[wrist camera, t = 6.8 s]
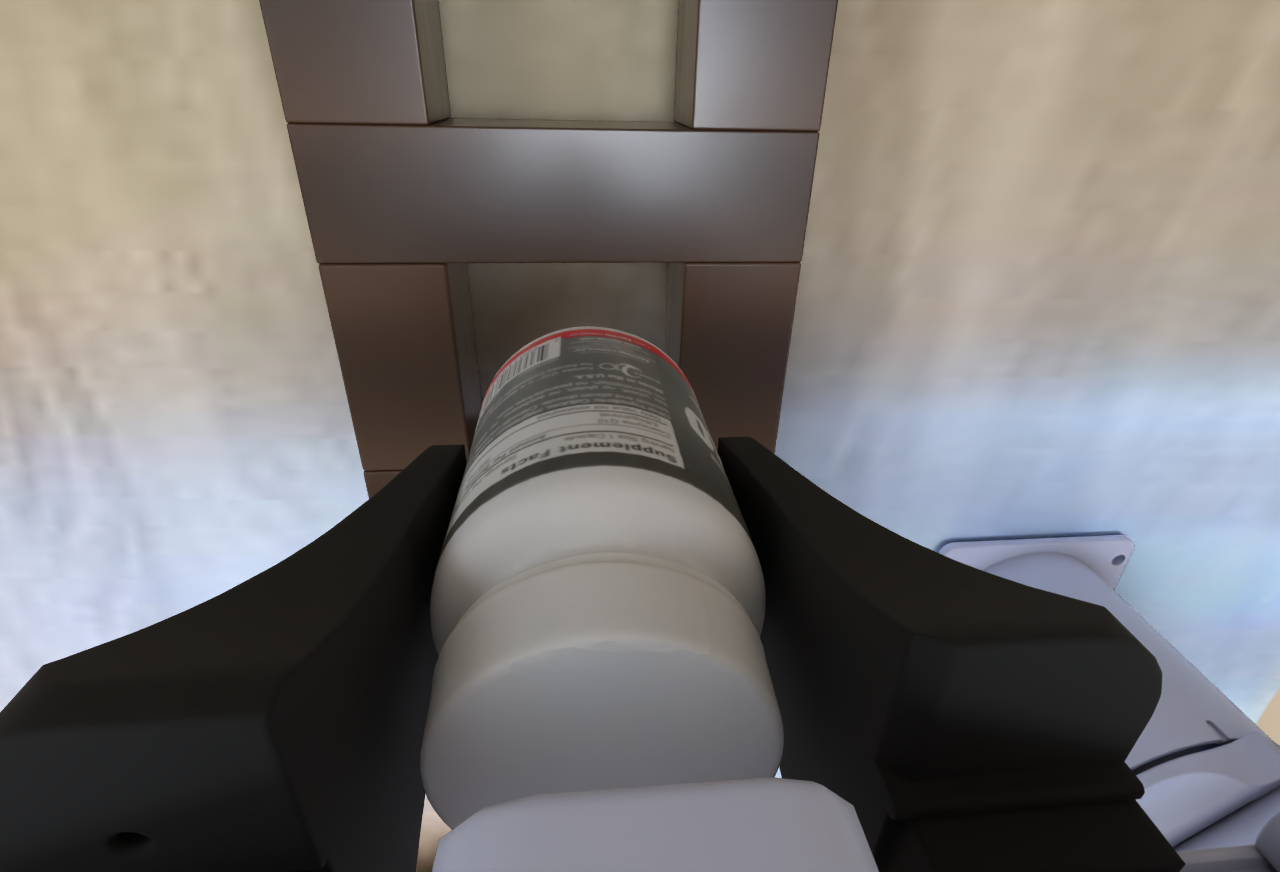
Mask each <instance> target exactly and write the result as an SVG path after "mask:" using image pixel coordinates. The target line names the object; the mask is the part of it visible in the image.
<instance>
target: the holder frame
mask: <svg viewBox="0 0 1280 872" xmlns="http://www.w3.org/2000/svg"><path fill="white" fill-rule="evenodd" d="M259 1H260V5H261V10H262V15H263V19H264V24H265V28H266V33H267V37H268V42H269V46H270V51H271V56H272V60H273V65H274V69H275V74H276V78H277V83H278V87H279V92H280V96H281V101H282V106H283V110H284V115H285V119H286V122H288V124H287V129H288V133H289V138H290V142H291V147H292V151H293V156H294V160H295V165H296V170H297V174H298V179H299V183H300V188H301V192H302V197H303V201H304V206H305V211H306V215H307V220H308V224H309V229H310V233H311V238H312V242H313V247H314V251H315V256H316V261H317V263H320V264H319V271H320V276H321V280H322V285H323V289H324V294H325V298H326V303H327V307H328V312H329V317H330V321H331V326H332V330H333V335H334V339H335V344H336V349H337V353H338V358H339V362H340V367H341V371H342V376H343V380H344V385H345V390H346V394H347V399H348V403H349V408H350V412H351V417H352V421H353V426H354V431H355V435H356V440H357V444H358V449H359V453H360V458H361V463H362V467H363V470H365V471H364V478H365V482H366V487H367V491H368V496H369V499H370V498H372V497H373V496H374V495H375V494H376V493H377V492H379V491H380V490H381V489H382V488H383V487H384V486H385V485H387V484H388V483H389V482H390V481H391V480H392V479H393V478H395V477H396V476H397V475H398V474H399V473H400V472H401V471H402V470H404V469H405V468H406V467H407V466H408V465H409V464H410V463H411V462H412V461H413V460H415V459H416V458H417V457H418V456H419V455H420V454H421V453H422V452H423V451H425V450H426V449H427V448H428V447H429V446H431V445H460V444H465V452H466V460H468V457H469V453H470V449H471V446H472V442H473V439H474V435H475V431H476V427H477V423H478V419H479V415H480V410H481V406H482V402H481V392H480V383H479V374H478V365H477V356H476V347H475V337H474V328H473V319H472V310H471V301H470V291H469V282H468V273H467V264H466V263H643V262H668V280H667V304H666V328H665V353H666V354H667V355H668V356H669V357H670V358H671V359H672V360H673V361H674V362H675V363H676V364H677V366H678V367H679V368H680V369H681V371H682V372H683V374H684V375H685V377H686V378H687V380H688V382H689V384H690V385H691V387H692V389H693V391H694V393H695V396H696V399H697V401H698V404H699V407H700V410H701V413H702V415H703V418H704V420H705V422H706V425H707V428H708V430H709V433H710V436H711V438H712V440H713V442H714V445H715V447H716V450H718V439H719V437H751V438H753V439H755V440H756V441H757V442H759V443H760V444H762V445H763V446H764V447H766V448H767V449H768V450H770V451H771V452H772V453H773V454H774V453H775V446H776V439H777V432H778V425H779V418H780V410H781V403H782V396H783V389H784V382H785V375H786V367H787V360H788V353H789V346H790V339H791V332H792V324H793V317H794V310H795V303H796V296H797V289H798V281H799V274H800V267H801V264H800V262H801V261H802V255H803V247H804V240H805V233H806V226H807V219H808V212H809V205H810V197H811V190H812V183H813V176H814V169H815V162H816V154H817V147H818V140H819V132H817V131H819V130H820V126H821V118H822V111H823V104H824V97H825V90H826V83H827V75H828V68H829V61H830V54H831V47H832V40H833V33H834V25H835V18H836V11H837V4H838V0H679V8H678V32H677V57H676V81H675V106H674V121H675V122H645V121H586V120H526V119H467V118H450V116H451V115H450V105H449V96H448V87H447V78H446V69H445V59H444V50H443V41H442V32H441V23H440V13H439V4H438V0H259Z"/></svg>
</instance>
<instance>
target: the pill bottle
mask: <svg viewBox="0 0 1280 872" xmlns="http://www.w3.org/2000/svg"><path fill="white" fill-rule="evenodd" d="M765 606H766V595H765V582H764V577H763V573H762V569H761V565H760V562H759V559H758V556H757V553H756V550H755V547H754V544H753V542H752V539H751V536H750V533H749V531H748V528H747V525H746V523H745V520H744V518H743V516H742V514H741V511H740V508H739V506H738V503H737V500H736V498H735V496H734V493H733V490H732V488H731V485H730V483H729V481H728V478H727V475H726V473H725V471H724V468H723V465H722V462H721V459H720V457H719V455H718V453H717V450H716V447H715V445H714V442H713V440H712V438H711V436H710V433H709V430H708V428H707V425H706V422H705V420H704V418H703V415H702V413H701V410H700V407H699V404H698V401H697V399H696V396H695V393H694V391H693V389H692V387H691V385H690V384H689V382H688V380H687V378H686V377H685V375H684V374H683V372H682V371H681V369H680V368H679V367H678V366H677V364H676V363H675V362H674V361H673V360H672V359H671V358H670V357H669V356H668V355H667V354H666V353H665V352H663V351H662V350H661V349H660V348H658V347H657V346H655V345H654V344H652V343H650V342H648V341H647V340H645V339H643V338H641V337H638V336H636V335H633V334H630V333H627V332H624V331H621V330H616V329H612V328H606V327H596V326H580V327H571V328H566V329H561V330H558V331H554V332H551V333H549V334H546V335H544V336H542V337H540V338H537V339H535V340H534V341H532V342H530V343H529V344H527V345H526V346H524V347H523V348H521V349H520V350H518V351H517V352H516V353H515V354H514V355H512V356H511V357H510V358H509V359H508V360H507V361H506V362H505V364H504V365H503V366H502V367H501V368H500V369H499V371H498V372H497V373H496V375H495V377H494V378H493V380H492V382H491V384H490V386H489V388H488V390H487V392H486V395H485V397H484V400H483V402H482V406H481V410H480V415H479V419H478V423H477V427H476V431H475V435H474V439H473V442H472V446H471V449H470V453H469V457H468V460H467V464H466V467H465V471H464V474H463V478H462V481H461V485H460V488H459V492H458V495H457V499H456V503H455V506H454V509H453V512H452V516H451V520H450V523H449V527H448V530H447V534H446V537H445V540H444V543H443V546H442V549H441V552H440V556H439V559H438V563H437V567H436V571H435V576H434V582H433V586H432V592H431V599H430V621H431V631H432V637H433V641H434V644H435V648H436V650H437V653H438V655H439V657H438V659H437V662H436V665H435V668H434V674H433V680H432V688H431V697H430V703H429V708H428V714H427V719H426V724H425V730H424V736H423V742H422V748H421V759H420V771H421V778H422V784H423V787H424V790H425V793H426V795H427V798H428V800H429V802H430V804H431V805H432V807H433V808H434V810H435V811H436V813H437V814H438V815H439V816H440V818H441V819H442V820H443V821H444V822H445V823H446V824H447V825H448V826H449V827H450V828H451V829H452V830H453V829H455V828H456V827H457V826H459V825H460V824H461V823H463V822H464V821H465V820H467V819H468V818H470V817H471V816H472V815H474V814H475V813H476V812H478V811H479V810H481V809H482V808H483V807H486V806H490V805H495V804H499V803H503V802H507V801H511V800H515V799H519V798H523V797H528V796H532V795H542V794H555V793H568V792H581V791H594V790H607V789H620V788H633V787H646V786H659V785H671V784H684V783H697V782H710V781H723V780H736V779H749V778H762V777H773V778H774V777H775V775H776V773H777V770H778V768H779V765H780V762H781V758H782V755H783V746H784V731H783V722H782V717H781V713H780V710H779V706H778V702H777V699H776V695H775V691H774V687H773V683H772V680H771V676H770V672H769V668H768V665H767V661H766V656H765V651H764V647H763V644H762V642H761V639H760V636H761V632H762V628H763V623H764V618H765Z"/></svg>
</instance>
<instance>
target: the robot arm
mask: <svg viewBox="0 0 1280 872" xmlns="http://www.w3.org/2000/svg"><path fill="white" fill-rule="evenodd" d="M717 453H718V455H719V457H720V459H721V462H722V465H723V468H724V471H725V473H726V475H727V478H728V481H729V483H730V485H731V488H732V490H733V493H734V496H735V498H736V500H737V503H738V506H739V508H740V511H741V514H742V516H743V518H744V520H745V523H746V525H747V528H748V531H749V533H750V536H751V539H752V542H753V544H754V547H755V550H756V553H757V556H758V559H759V562H760V565H761V569H762V573H763V577H764V582H765V595H766V606H765V618H764V623H763V628H762V632H761V636H760V639H761V642H762V644H763V647H764V651H765V656H766V661H767V665H768V668H769V672H770V676H771V680H772V683H773V687H774V691H775V695H776V699H777V702H778V706H779V710H780V713H781V717H782V722H783V731H784V746H783V755H782V758H781V762H780V765H779V767H780V771H781V776H782V778H773V777H762V778H749V779H736V780H723V781H710V782H697V783H684V784H671V785H659V786H646V787H633V788H620V789H607V790H594V791H581V792H568V793H555V794H542V795H532V796H528V797H523V798H519V799H515V800H511V801H507V802H503V803H499V804H495V805H490V806H486V807H483V808H482V809H481V810H479V811H478V812H476V813H475V814H474V815H472V816H471V817H470V818H468V819H467V820H465V821H464V822H463V823H461V824H460V825H459V826H457V827H456V828H455V829H453V830H452V831H450V832H449V833H448V834H446V835H445V836H444V837H442V838H441V839H440V840H439V843H438V847H437V851H436V855H435V859H434V863H433V867H432V872H1280V746H1279V745H1278V744H1277V743H1275V742H1274V741H1273V740H1271V738H1270V737H1268V736H1267V735H1266V734H1265V733H1264V732H1263V731H1262V730H1261V729H1260V728H1259V727H1258V726H1257V725H1256V724H1255V723H1254V722H1253V721H1252V720H1251V719H1249V718H1248V717H1247V716H1246V715H1245V714H1244V713H1243V712H1242V711H1241V710H1240V709H1239V708H1238V707H1237V706H1236V705H1235V704H1234V703H1233V702H1231V701H1230V700H1229V699H1228V698H1227V697H1226V696H1225V695H1224V694H1223V693H1222V692H1221V691H1220V690H1219V689H1218V688H1217V687H1216V686H1215V685H1213V684H1212V683H1211V682H1210V681H1209V680H1208V679H1207V678H1206V677H1205V676H1204V675H1203V674H1202V673H1201V672H1200V671H1199V670H1198V669H1196V668H1195V667H1194V666H1193V665H1192V664H1191V663H1190V662H1189V661H1188V660H1187V659H1186V658H1185V657H1184V656H1183V655H1182V654H1181V653H1180V652H1178V651H1177V650H1176V649H1175V648H1174V647H1173V646H1172V645H1171V644H1170V643H1169V642H1168V641H1167V640H1166V639H1165V638H1164V637H1163V636H1162V635H1160V634H1159V633H1158V632H1157V631H1156V630H1155V629H1154V628H1153V627H1152V626H1151V625H1150V624H1149V623H1148V622H1147V621H1146V620H1145V619H1144V618H1142V617H1141V616H1140V615H1139V614H1138V613H1137V612H1136V611H1135V610H1134V609H1133V608H1132V607H1131V606H1130V605H1129V604H1128V603H1127V602H1126V601H1124V600H1123V599H1122V598H1121V597H1120V596H1119V595H1118V594H1117V593H1116V592H1115V591H1114V589H1115V587H1116V585H1117V583H1118V581H1119V579H1120V577H1121V575H1122V573H1123V571H1124V569H1125V566H1126V564H1127V562H1128V560H1129V558H1130V556H1131V554H1132V552H1133V550H1134V547H1135V544H1134V542H1133V541H1132V540H1131V539H1130V538H1128V537H1127V536H1126V535H1106V536H1084V537H1061V538H1039V539H1017V540H994V541H972V542H953V543H948V544H946V545H944V546H943V547H942V548H941V549H940V551H939V553H937V552H935V551H932V550H930V549H928V548H925V547H923V546H921V545H919V544H916V543H914V542H912V541H910V540H908V539H906V538H904V537H902V536H900V535H898V534H896V533H894V532H892V531H890V530H888V529H887V528H885V527H883V526H881V525H879V524H877V523H875V522H873V521H871V520H870V519H868V518H866V517H864V516H863V515H861V514H859V513H858V512H856V511H854V510H853V509H851V508H850V507H848V506H847V505H845V504H843V503H842V502H840V501H839V500H837V499H836V498H834V497H832V496H831V495H829V494H828V493H826V492H825V491H824V490H822V489H821V488H819V487H818V486H816V485H815V484H814V483H812V482H811V481H809V480H808V479H807V478H805V477H804V476H802V475H801V474H800V473H798V472H797V471H796V470H794V469H793V468H792V467H790V466H789V465H788V464H786V463H785V462H784V461H783V460H781V459H780V458H779V457H777V456H776V455H775V454H773V453H772V452H771V451H770V450H768V449H767V448H766V447H764V446H763V445H762V444H760V443H759V442H757V441H756V440H755V439H753V438H751V437H719V439H718V450H717ZM466 464H467V460H466V452H465V444H460V445H431V446H429V447H428V448H427V449H426V450H425V451H423V452H422V453H421V454H420V455H419V456H418V457H417V458H416V459H415V460H413V461H412V462H411V463H410V464H409V465H408V466H407V467H406V468H405V469H404V470H402V471H401V472H400V473H399V474H398V475H397V476H396V477H395V478H393V479H392V480H391V481H390V482H389V483H388V484H387V485H385V486H384V487H383V488H382V489H381V490H380V491H379V492H377V493H376V494H375V495H374V496H373V497H372V498H370V499H369V500H368V501H367V502H365V503H364V504H363V505H361V506H360V507H359V508H358V509H356V510H355V511H354V512H352V513H351V514H350V515H349V516H347V517H346V518H345V519H343V520H342V521H341V522H340V523H338V524H337V525H336V526H335V527H333V528H332V529H330V530H329V531H328V532H326V533H325V534H323V535H322V536H320V537H319V538H318V539H316V540H315V541H313V542H312V543H310V544H309V545H307V546H305V547H304V548H302V549H301V550H299V551H298V552H296V553H294V554H293V555H291V556H290V557H288V558H286V559H285V560H283V561H281V562H280V563H278V564H276V565H275V566H273V567H271V568H269V569H267V570H265V571H264V572H262V573H260V574H258V575H256V576H254V577H252V578H250V579H249V580H247V581H245V582H243V583H241V584H239V585H237V586H236V587H234V588H232V589H230V590H228V591H226V592H224V593H222V594H220V595H218V596H216V597H214V598H212V599H210V600H208V601H206V602H203V603H201V604H199V605H197V606H195V607H193V608H191V609H188V610H186V611H184V612H182V613H179V614H177V615H175V616H172V617H170V618H168V619H165V620H163V621H161V622H158V623H156V624H154V625H151V626H149V627H146V628H144V629H141V630H139V631H136V632H134V633H131V634H129V635H126V636H123V637H121V638H118V639H115V640H112V641H110V642H107V643H104V644H101V645H99V646H96V647H93V648H91V649H88V650H85V651H82V652H80V653H77V654H74V655H71V656H69V657H66V658H63V659H60V660H57V661H54V662H51V663H48V664H45V665H43V666H42V667H41V668H40V669H39V670H38V671H37V672H36V674H35V675H34V676H33V677H32V678H31V679H30V680H29V681H28V682H27V683H26V685H25V686H24V687H23V688H22V689H21V690H20V691H19V692H18V693H17V695H16V696H15V697H14V698H13V699H12V700H11V701H10V702H9V703H8V705H7V706H6V707H5V708H4V709H3V710H2V711H1V712H0V872H416V863H417V855H418V847H419V839H420V831H421V822H422V814H423V807H424V800H425V790H424V787H423V784H422V778H421V771H420V759H421V748H422V742H423V736H424V730H425V724H426V719H427V714H428V708H429V703H430V697H431V688H432V680H433V674H434V668H435V665H436V662H437V659H438V657H439V655H438V653H437V650H436V648H435V644H434V641H433V637H432V631H431V621H430V599H431V592H432V586H433V582H434V576H435V571H436V567H437V563H438V559H439V556H440V552H441V549H442V546H443V543H444V540H445V537H446V534H447V530H448V527H449V523H450V520H451V516H452V512H453V509H454V506H455V503H456V499H457V495H458V492H459V488H460V485H461V481H462V478H463V474H464V471H465V467H466Z"/></svg>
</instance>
